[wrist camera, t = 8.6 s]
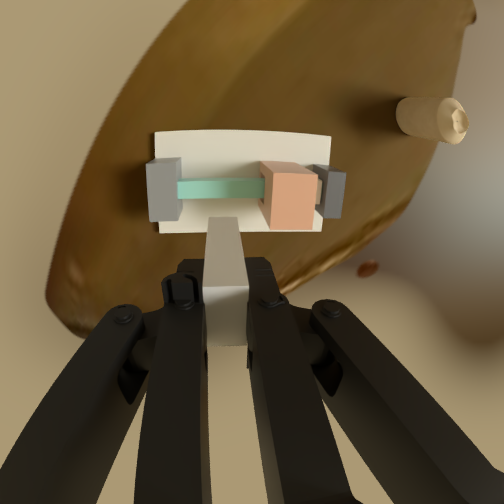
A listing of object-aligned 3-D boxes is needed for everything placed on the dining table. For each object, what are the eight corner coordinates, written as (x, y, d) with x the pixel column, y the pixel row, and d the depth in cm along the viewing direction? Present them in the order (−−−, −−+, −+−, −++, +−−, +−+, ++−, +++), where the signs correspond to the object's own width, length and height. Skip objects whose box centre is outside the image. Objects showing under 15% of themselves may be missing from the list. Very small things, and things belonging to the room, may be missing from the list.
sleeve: (259, 160, 30) (273, 172, 23) (294, 162, 31) (318, 174, 24) (257, 205, 33) (269, 229, 25) (291, 205, 33) (312, 229, 26)
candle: (402, 140, 32) (452, 152, 23) (389, 102, 29) (440, 103, 20) (428, 129, 31) (478, 139, 22) (417, 93, 29) (468, 94, 20)
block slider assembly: (156, 132, 28) (143, 134, 23) (328, 136, 31) (349, 139, 26) (160, 230, 34) (151, 250, 28) (318, 229, 36) (335, 247, 31)
